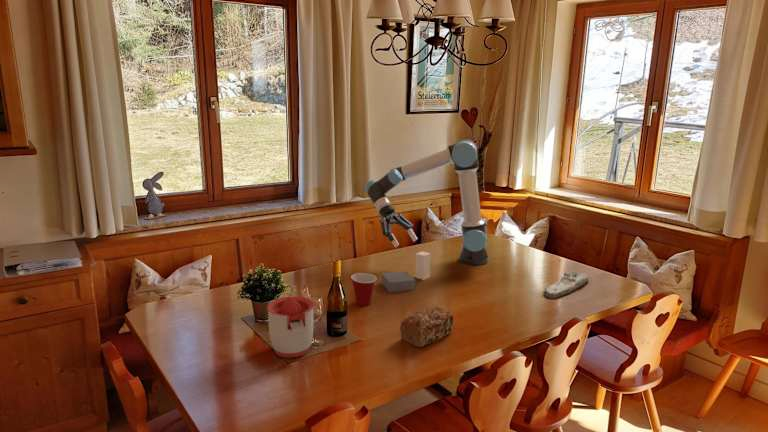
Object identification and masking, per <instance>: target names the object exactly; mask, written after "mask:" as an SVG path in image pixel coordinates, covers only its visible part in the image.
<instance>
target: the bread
mask: <svg viewBox="0 0 768 432" xmlns="http://www.w3.org/2000/svg"><path fill="white" fill-rule="evenodd" d="M453 323H454V316H453V314H452V313H451V312H450V311H448V310H446V309H445V308H442V307H440V306H433V307H427V308H422V309H420V310H418V311H415V312H414V313H413V312H412V313H411V314H410V315H408V316H406V317H405V318H403V319H402V320H401V322H400V327H399V329H400V336H401V339H402V340H403V341H404V342H405V343H408V344H410V345H411V346H414V347H416V348H421V347H422V348H423V347H424V346H425V345H429V344H432V343H434V342H436V341H438V340H440V339H442V338H443V337H445V336H447V335H449V334H451V333H452V329H453V327H454V326H453V325H454V324H453Z"/></svg>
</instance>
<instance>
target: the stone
mask: <svg viewBox="0 0 768 432" xmlns="http://www.w3.org/2000/svg"><path fill="white" fill-rule="evenodd" d="M589 279H590V277H589V275H588V274H587V273H583V272H576V271H571V272H570V271H565V272H564V273H563V277H561V279H559V281H555V282H553V283H551V284H550V285H548V286H546V287H545V288H544V290H543V292H542V293H543V295H544V296H545V297H546V298H548V297H549V298H548V299H557V298H559V297H561V296H564V295H567V294H569V293H571V292H574V291H576V290H577V289H578V288H581V287H582V286H583V285H585V284H586V283H587V282H588V281H589Z"/></svg>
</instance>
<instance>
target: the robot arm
mask: <svg viewBox="0 0 768 432" xmlns="http://www.w3.org/2000/svg"><path fill="white" fill-rule="evenodd" d="M478 157H479V155H478V145H477V144H476V143H475V142H474V140H472V139H467V138H462V139H461V140H458V141H457V142H455V143H453V144H450V145H448V146H447V147H446V148H445V149H443V150H440V151H438V152H436V153H435V152H434V153H432V154H430V155H428V156H425V157H422V158H420V159H419V158H418V159H417V160H415V161H412V162H408V163H406V164H403V165H401V166H398V167H394V168H391V169H390V170H389V171H388V172H387V173H385V175H383V176H382V177H381V178H380V179H379V180H377V179H371V180H370V181H368V182H366V183H365V185H364V190H365V192H366V194H367V196H368V197H369V199H370V201H371V203H372V204H373V205H374V207H375V209H376V210H377V212H378V213H379V215H380V216H381V217H380V218H379V222H380V227H381V232H382V236H383V237H385V238H388V239H389V241H390V242H391V243H392V245H393V246H394V248H398V246H399V245H400V243H399V242H398V240H397V238H396V236H395V235H394V233H392V225H398V226H400V227H402V228H404V229H405V230H406V232H407V234H408V236H410V238H411V240H412V241H413V243H414V242H416V241H417V240H418V239H419V238H418V237H417V235H416V234H415V231H414V230H413V227H414V224H413V223H411V221H409V220H408V219H407V218H406V217H405V216H404V215H403V214H402V213H401V212H398V213H396V212H395V211H396V209H395V208H394V206H393V205H392V203H391V201H390V200H389V198H388V197H387V195H386V194H387V193H389V192H390V191H391V190H393V189H394V188H395V187H397V186H398V185H399V184H401V183H402V182H404V181H406V180H409V179H413V178H414V177H418V176H420V175H422V174H425V173H429V172H430V171H433V170H436V169H439V168H443V167H445V166H448V165H450V164H453V167H454V172H456V173H457V174H458V183H459V189H460V190H459V191H460V200H461V207H462V208H461V209H462V216H463V220H462V222H461V226H460V227H461V234H462V238H461V243H462V248H461V250H460V252H459V257H458V260H459V261H460V263H463V264H466V265H470V266H471V265H474V266H480V265H481V266H482V265H485V264H488V263H489V255H488V251H487V248H486V246H487V242H488V238H487V232H488V231H487V228H488V220H487V219H486V218H482V212H481V203H480V195H479V185H478V176H477V171H478V169H479V167H480V166H479V158H478Z"/></svg>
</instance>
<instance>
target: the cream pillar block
mask: <svg viewBox="0 0 768 432" xmlns="http://www.w3.org/2000/svg"><path fill="white" fill-rule="evenodd" d="M431 255H432V253H430V252H427V251H423V250H422V251H420V252H417V253H416V254H415V272H414V273H415V274H414V275H415V278H416V279H420V280H423V281H424V280H428V279H429V278H431V264H432V263H431V261H432V259H431V258H432V256H431Z"/></svg>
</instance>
